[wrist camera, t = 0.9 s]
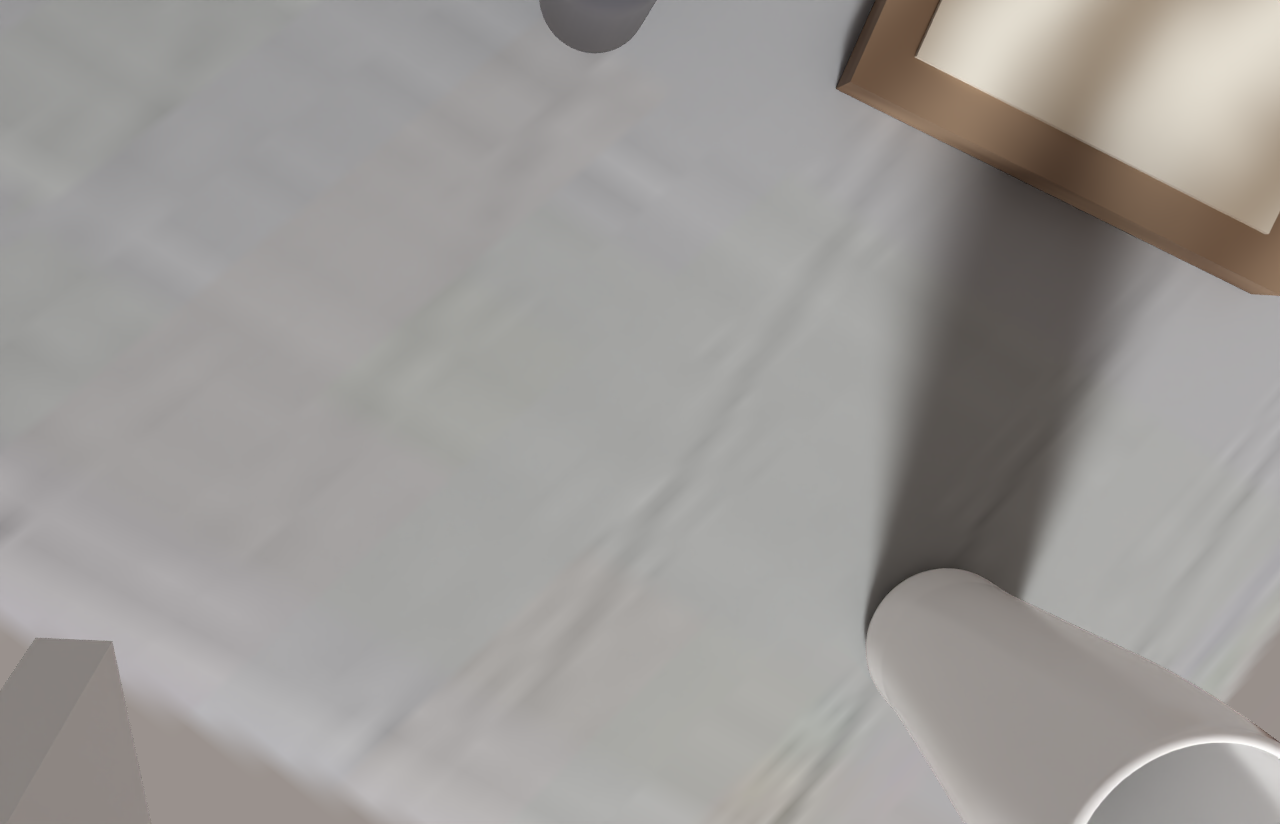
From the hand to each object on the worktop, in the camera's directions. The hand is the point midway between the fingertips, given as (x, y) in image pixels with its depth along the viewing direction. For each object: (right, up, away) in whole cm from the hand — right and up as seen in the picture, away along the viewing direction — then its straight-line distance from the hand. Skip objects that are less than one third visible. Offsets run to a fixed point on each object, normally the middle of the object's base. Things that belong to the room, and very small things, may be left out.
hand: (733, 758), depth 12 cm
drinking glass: (+9, -4, +26) cm, 28 cm away
